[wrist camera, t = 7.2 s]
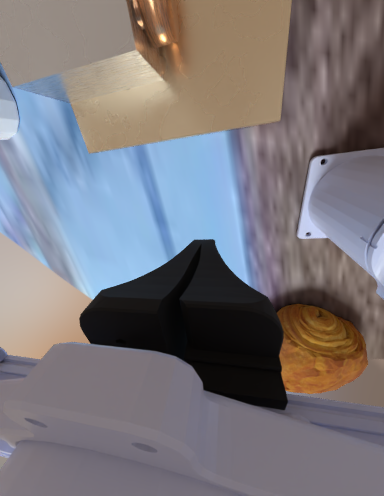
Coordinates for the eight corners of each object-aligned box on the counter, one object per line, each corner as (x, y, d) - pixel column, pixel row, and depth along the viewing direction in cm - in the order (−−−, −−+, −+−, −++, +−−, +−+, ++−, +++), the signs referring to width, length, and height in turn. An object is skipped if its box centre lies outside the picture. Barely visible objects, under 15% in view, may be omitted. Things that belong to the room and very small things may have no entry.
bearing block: (310, -251, 8) (466, -987, 3) (276, 122, 15) (304, 108, 10) (12, -81, 12) (-155, -260, 7) (95, 153, 18) (45, 155, 13)
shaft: (171, -39, 11) (146, -128, 7) (182, 53, 12) (165, 18, 9) (28, 18, 13) (-43, -28, 9) (55, 88, 15) (4, 71, 11)
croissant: (238, 335, 33) (237, 386, 27) (278, 287, 23) (292, 349, 17) (312, 359, 32) (329, 416, 26) (387, 319, 22) (442, 397, 16)
